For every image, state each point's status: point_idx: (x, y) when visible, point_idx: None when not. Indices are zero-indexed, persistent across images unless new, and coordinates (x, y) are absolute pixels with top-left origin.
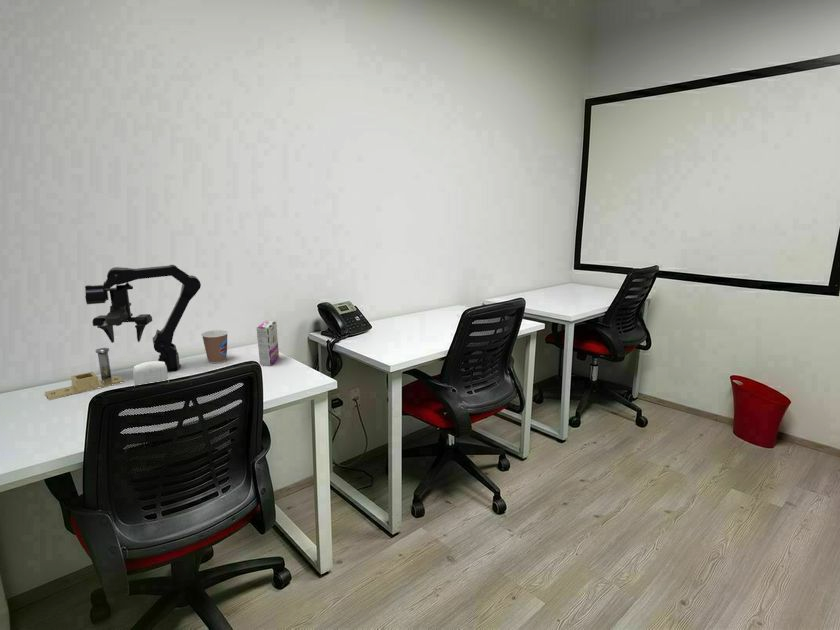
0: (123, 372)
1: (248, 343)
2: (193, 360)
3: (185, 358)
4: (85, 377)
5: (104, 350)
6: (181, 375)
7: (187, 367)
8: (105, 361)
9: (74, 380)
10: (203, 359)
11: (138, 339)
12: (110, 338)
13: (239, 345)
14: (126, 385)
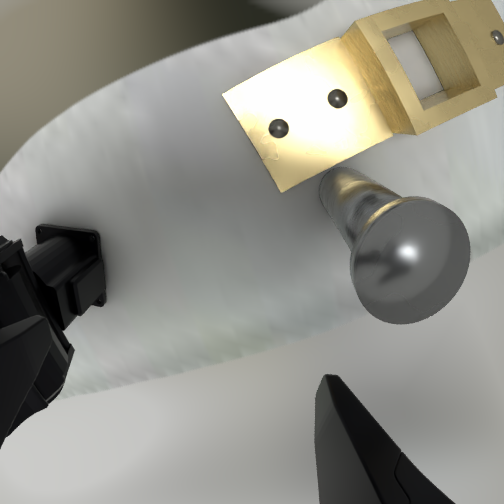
0: (278, 273)
1: None
2: None
3: (79, 369)
4: (434, 102)
5: (391, 219)
6: (11, 163)
7: None
8: (361, 194)
9: (456, 15)
10: None
11: (19, 325)
12: (352, 412)
13: None
14: (200, 48)
